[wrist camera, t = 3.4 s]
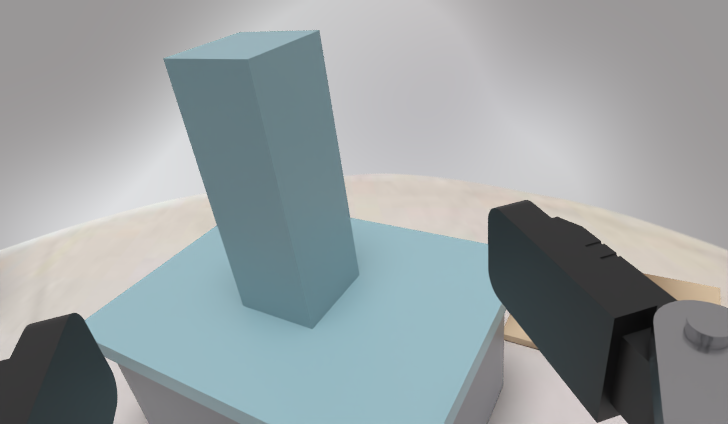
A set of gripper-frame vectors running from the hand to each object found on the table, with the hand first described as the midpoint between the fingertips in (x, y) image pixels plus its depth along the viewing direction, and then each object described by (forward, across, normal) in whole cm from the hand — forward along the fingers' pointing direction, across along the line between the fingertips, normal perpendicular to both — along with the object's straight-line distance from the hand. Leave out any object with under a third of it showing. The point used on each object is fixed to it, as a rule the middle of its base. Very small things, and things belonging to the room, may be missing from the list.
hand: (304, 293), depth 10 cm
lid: (+9, 0, +8) cm, 12 cm away
